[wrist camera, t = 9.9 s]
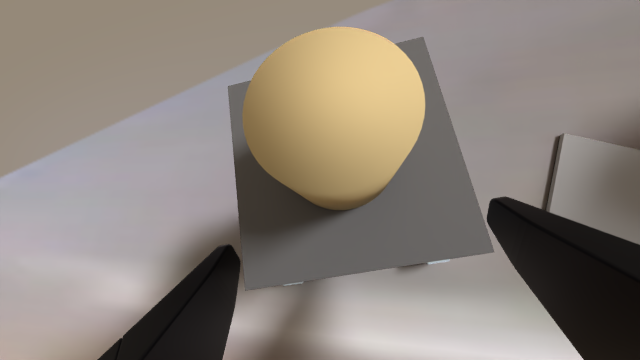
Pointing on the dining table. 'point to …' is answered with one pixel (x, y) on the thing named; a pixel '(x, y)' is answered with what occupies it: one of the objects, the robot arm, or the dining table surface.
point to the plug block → (348, 162)
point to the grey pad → (597, 186)
